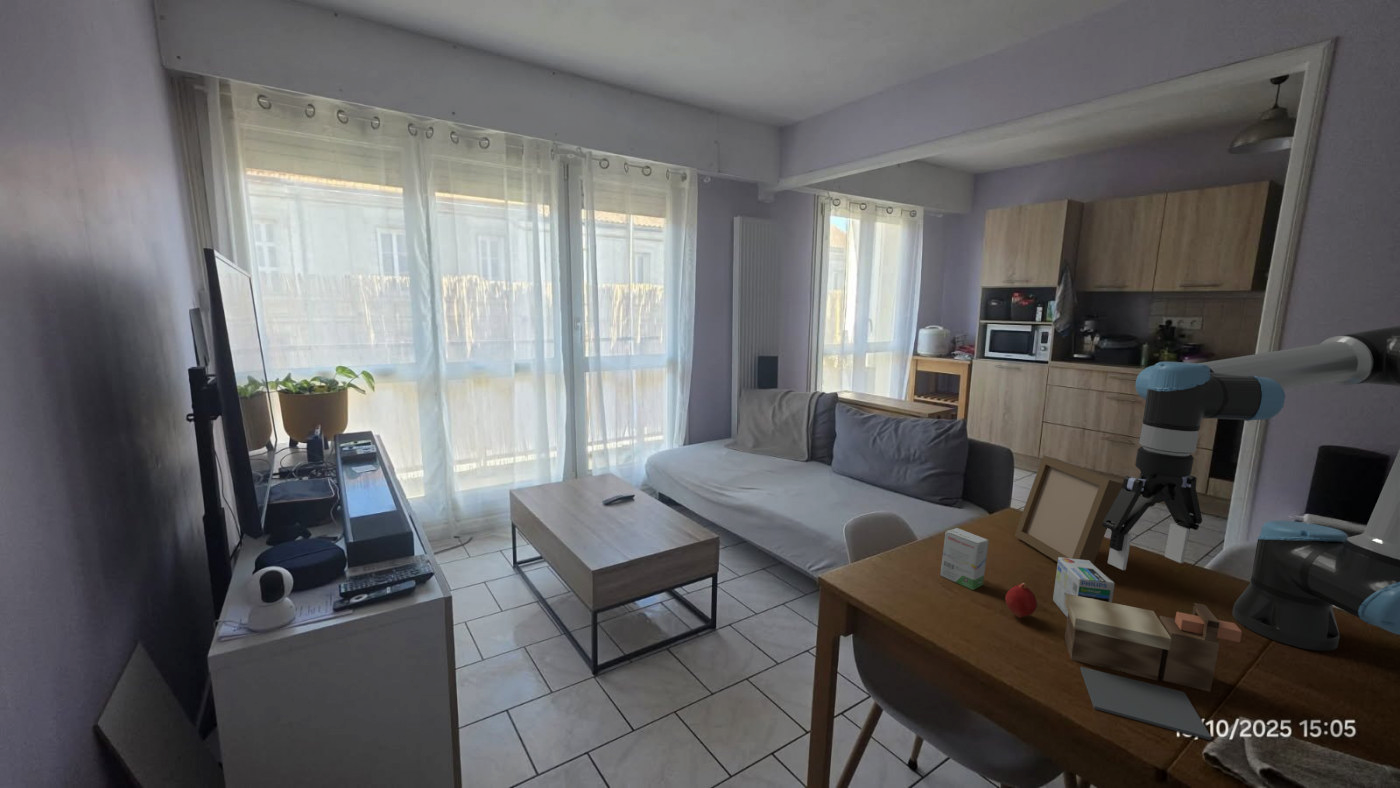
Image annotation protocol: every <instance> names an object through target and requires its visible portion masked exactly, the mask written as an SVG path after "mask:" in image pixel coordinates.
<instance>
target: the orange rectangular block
mask: <svg viewBox="0 0 1400 788" xmlns="http://www.w3.org/2000/svg"><path fill="white" fill-rule="evenodd" d="M1174 619H1175V623H1176V624H1177V626H1178V627H1179V628H1180V630H1183V631H1188V632H1193V633H1198V634H1203V628H1204V622H1203V620H1202V619H1201V618H1200V617H1199V616H1196V615H1192V614H1189V613H1185V612H1180V611H1176V613H1175V618H1174ZM1217 620H1218V621H1219V622H1220V623H1219V628H1218V634H1217V639H1218V638H1219V639H1222V640H1227V641H1232V642H1237V643H1241V638H1242V633H1243V631H1242V630H1241V628H1239V626H1237V624H1236V623H1235V622H1231V621H1230V622H1229V621H1225V620H1221V619H1217Z"/></svg>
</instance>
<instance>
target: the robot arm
mask: <svg viewBox="0 0 1400 788" xmlns="http://www.w3.org/2000/svg"><path fill="white" fill-rule="evenodd" d="M1328 383H1329V384H1330V383H1332V384H1335V385H1339V386H1349V385H1350V386H1352V385H1360V384H1371V385H1383V386H1395V387H1400V325H1398V326H1391V327H1390V326H1389V327H1384V328H1378V329H1370V330H1365V331H1364V330H1363V331H1360V332H1355V333H1354V332H1353V333H1349V334H1342V335H1335V336H1332V337H1329V338H1326V339H1325V340H1323V341H1322V342H1320V343H1319V344H1312V345H1306V346H1300V347H1294V348H1287V349H1281V350H1276V351H1269V352H1263V353H1256V354H1250V355H1242V356H1237V357H1230V358H1224V359H1218V360H1210V361H1205V362H1199V363H1195V362H1184V361H1183V362H1182V361H1181V362H1180V361H1158V362H1157V363H1155V364H1154V365H1150V366H1148V367H1146V368H1144V369H1143V370H1141V371H1140V372H1139V374H1138V375H1137V377H1136V380H1135V390H1136V393H1137V394H1138V395H1139V397H1141V398H1142V399H1143V400H1145V405H1144V411H1143V418H1142V425H1141V431H1140V436H1139V441H1138V442H1139V444H1140V447H1139V448H1137V452H1136V457H1135V458H1136V459H1135V462H1134V463H1135V465H1134V466H1135V467H1136V468H1137V469H1139V471H1140V475H1139V476H1138V478H1135V477H1131V476H1129V475H1126V476H1125V477H1124V478H1123V481H1122V483H1123V485H1122V489H1121V490H1120V492H1119V494H1118V496H1117V498H1116V499H1115V501H1114V503H1113V505H1112V507H1111V508H1110V510H1109V512H1108V514H1107V516H1106V517H1105V519H1104V521H1103V523H1102V525H1103V527H1106V528H1107V530H1110V531H1111V534H1110V538H1109V539H1110V541H1109V551H1108V552H1109V553H1108V558H1107V564H1108V565H1111V566H1113V567H1115V568H1117V569H1119V570H1122V571H1126V570H1127V566H1128V565H1127V564H1128V559H1129V554H1130V546H1131V540H1132V536H1133V535H1132V534H1130V533H1129V532H1130V531H1131V529H1133V528H1134V526H1135V525H1136V524H1137V522H1138V521H1139V520H1140V519H1141V517H1142V516H1143V515H1144V514H1145V512H1146V511H1147V510H1148V509H1149V508H1150V507H1154V506H1155V505H1156V504H1160V503H1163V502H1164V504H1165V506H1166V508H1167V510H1168V512H1169V513H1170V515H1171V517H1172V519H1173V521H1174V522H1173V523H1170V524H1169V530H1168V534H1167V540H1166V541H1167V542H1166V546H1165V552H1164V557H1165V558H1167V559H1170V560H1172V561H1174V562H1176V563H1179V564H1184V562H1185V556H1186V551H1187V546H1188V541H1189V537H1190V532H1191V529H1192V530H1193V531H1194V530H1195V531H1197V530H1198V529H1199V528H1200V525H1201V524H1202V522H1203V517H1202V512H1201V508H1200V507H1201V506H1200V502H1199V498H1198V492H1197V479H1198V478H1197V476H1193V475H1192V470H1193V465H1194V460H1195V459H1194V458H1195V457H1194V456H1193V455H1192V454H1193V453H1196V451H1197V445H1198V440H1199V439H1198V438H1199V433H1200V428H1201V423H1202V419H1219V420H1220V419H1221V420H1241V421H1247V422H1250V421H1261V420H1263V421H1264V420H1268V419H1269V420H1270V419H1272V418H1273V417H1275V416H1277V415H1278V414H1279V413H1280V412H1281V411H1282V410H1283V408H1284V406H1285V400H1286V393H1285V390H1288V389H1295V388H1301V387H1303V388H1304V387H1309V386H1314V385H1321V384H1328ZM1333 606H1334V607H1337V608H1338V609H1340V610H1342V611H1345V612H1347V613H1349V614H1351V615H1353V616H1354V617H1357V618H1359V619H1360V620H1361V621H1363V622H1365V623H1367V624H1369V625H1372V626H1374V627H1378V628H1381V629H1382V630H1385V631H1387V632H1389V633H1391V634H1394V635H1398V636H1400V449H1399V450H1398V453H1397V455H1396V457H1395V459H1394V462H1393V464H1392V466H1391V468H1390V471H1389V473H1388V476H1387V477H1386V480H1385V482H1384V485H1383V487H1382V490H1381V492H1380V493H1379V497H1378V499H1377V502H1376V503H1375V506H1374V508H1373V510H1372V512H1371V514H1370V517H1369V520H1368V522H1367V524H1366V527H1365V529H1364V531H1363V532H1362V533H1361V534H1357V535H1353V536H1348V534H1347V533H1346V532H1344V531H1343V530H1340V529H1337V528H1334V527H1329V526H1326V525H1325V526H1324V525H1320V524H1314V523H1307V522H1300V521H1294V520H1293V521H1291V520H1270V521H1266V522H1265V523H1264V524H1262V526H1261V529H1260V532H1259V536H1258V537H1257V543H1256V548H1255V553H1254V561H1253V566H1252V571H1251V578H1250V582H1249V584H1248V586H1247V587H1246V588H1245V589H1244V591H1243V592H1242V593H1241V594H1240V596H1239V597H1238V598H1237V599H1236V601H1235V602H1234V603H1233V607H1232V612H1231V615H1232V617H1233V618H1234V620H1236V621H1237V622H1238V623H1239V624H1240V625H1242V626H1244V627H1245V628H1246V629H1248V630H1250V631H1252V632H1254V633H1256V634H1258V635H1260V636H1263V637H1265V638H1267V639H1270V640H1273V641H1275V642H1279V643H1282V644H1285V645H1288V646H1290V647H1291V646H1292V647H1296V648H1300V649H1304V650H1309V651H1318V652H1331V651H1334V650H1337V649H1338V646H1339V642H1340V632H1339V627H1338V624H1337V620H1336V616H1335V612H1334V608H1333Z"/></svg>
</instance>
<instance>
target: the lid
mask: <svg viewBox="0 0 1400 788" xmlns="http://www.w3.org/2000/svg"><path fill="white" fill-rule="evenodd" d="M1065 606H1066V608H1067V611H1068V614H1069V616H1070V619H1071V622H1072V624H1073V627H1074V629H1077V630H1081V631H1086V632H1090V633H1095V634H1099V635H1103V636H1108V637H1112V638H1117V639H1121V640H1126V641H1130V642H1135V643H1139V644H1144V645H1148V646H1153V647H1157V648H1162V649H1166V650H1170V645H1171V637H1170V636H1169V634H1168V633H1167V631H1166V630H1165V628H1164V627H1163V625H1162V624H1161V622H1160V620H1159V619H1160V618H1158V616H1157V615H1156V613H1155V611H1154V610H1149V609H1145V608H1140V607H1134V606H1130V605H1124V604H1120V603H1116V602H1115V603H1114V602H1112V603H1111V602H1106V601H1101V600H1096V599H1091V598H1086V597H1081V596H1076V595H1071V594H1066V597H1065Z"/></svg>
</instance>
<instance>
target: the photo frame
mask: <svg viewBox="0 0 1400 788" xmlns="http://www.w3.org/2000/svg"><path fill="white" fill-rule="evenodd" d="M1122 485H1123V482H1121V481H1118V480H1115V479H1112V478H1110V477H1107V476H1105V475H1102V474H1099V473H1097V472H1094V471H1090V470H1088V469H1086V468H1082V467H1080V466H1077V465H1074V464H1072V463H1069V462H1067V461H1063V460H1061V459H1058V458H1054V457H1051V456H1048V455H1042V459H1041V460H1040V463H1039V466H1038V469H1037V472H1036V475H1035V477H1034V480H1033V483H1032V486H1031V489H1030V492H1029V493H1028V497H1027V500H1026V502H1025V505H1024V508H1023V510H1022V514H1021V516H1020V519H1019V520H1018V521H1019V522H1018V525H1017V527H1016V530H1015V533H1014V537H1016V538H1018V539H1020V540H1021V541H1023V542H1024V543H1026V544H1027V545H1029V546H1030V547H1032V548H1034V549H1036V550H1037V551H1039V552H1040V553H1042V554H1043V555H1045V556H1047V557H1049V558H1050V559H1052V561H1055V562H1056V563H1058V557H1063V558H1070V559H1080V560H1089V561H1090V562H1091V563H1092V564H1093V565H1095V564H1094V563H1095V561H1096V559H1097V556H1098V553H1099V551H1100V549H1101V545H1102V542H1103V540H1104V538H1105V535H1106V533H1107V530H1108V528H1106V527H1103V525H1102V523H1103V521H1104V519H1105V517H1106V516H1107V514H1108V512H1109V510H1110V508H1111V507H1112V505H1113V503H1114V501H1115V499H1116V498H1117V496H1118V494H1119V492H1120V490H1121V489H1122Z"/></svg>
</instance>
